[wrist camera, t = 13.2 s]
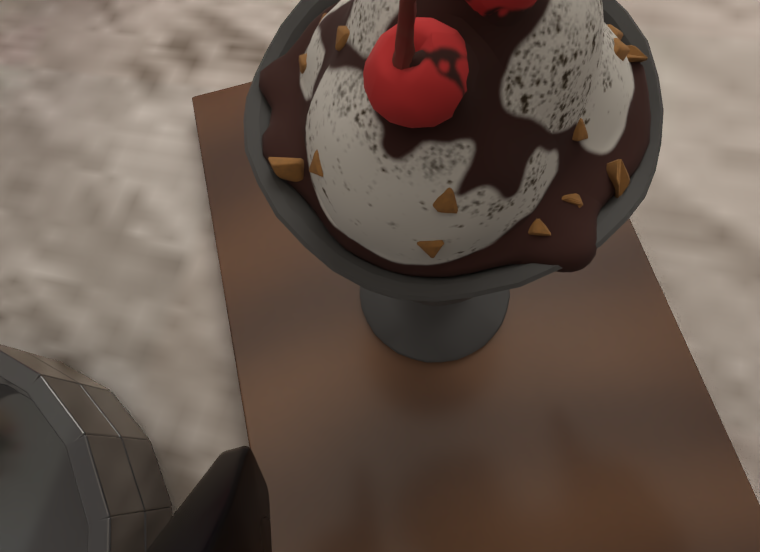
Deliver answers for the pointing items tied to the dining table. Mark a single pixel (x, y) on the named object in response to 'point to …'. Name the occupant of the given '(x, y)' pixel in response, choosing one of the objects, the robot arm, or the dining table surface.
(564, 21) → the sundae
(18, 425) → the skillet
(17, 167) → the dining table surface
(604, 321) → the walnut board
